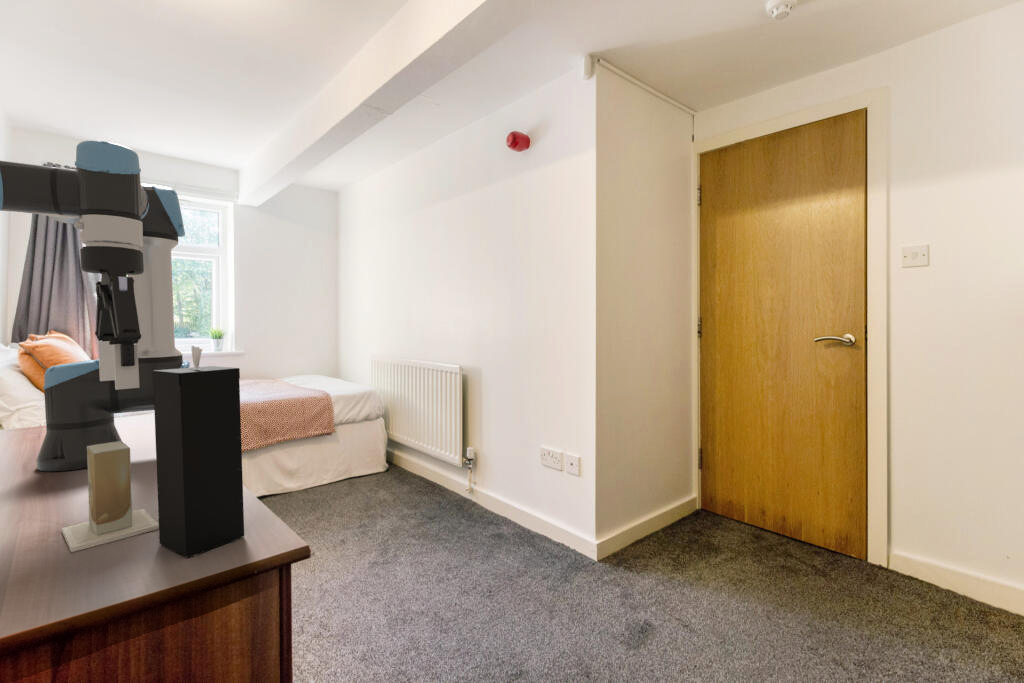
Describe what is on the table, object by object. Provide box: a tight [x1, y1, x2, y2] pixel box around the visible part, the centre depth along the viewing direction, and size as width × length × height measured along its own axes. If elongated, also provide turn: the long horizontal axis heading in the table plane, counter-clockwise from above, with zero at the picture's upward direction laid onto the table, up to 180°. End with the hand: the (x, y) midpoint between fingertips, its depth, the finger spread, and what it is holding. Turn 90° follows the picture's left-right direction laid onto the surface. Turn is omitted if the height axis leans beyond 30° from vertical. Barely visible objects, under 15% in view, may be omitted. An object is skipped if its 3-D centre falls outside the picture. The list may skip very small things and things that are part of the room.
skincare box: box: [87, 440, 133, 535], centre depth 73 cm, size 6×4×12 cm
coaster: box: [61, 508, 159, 553], centre depth 73 cm, size 10×10×1 cm
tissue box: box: [152, 345, 245, 559], centre depth 69 cm, size 8×8×28 cm
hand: (118, 384), depth 76 cm, fingers open, 13 cm apart
